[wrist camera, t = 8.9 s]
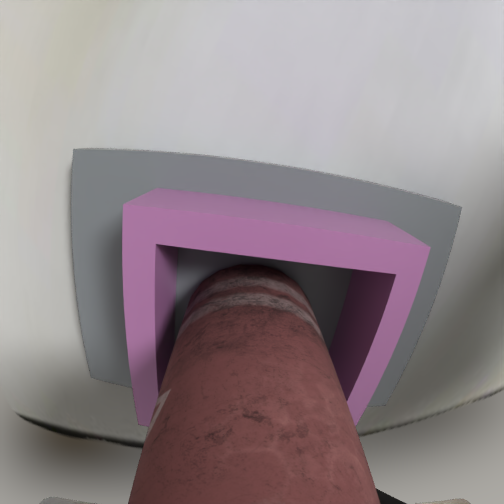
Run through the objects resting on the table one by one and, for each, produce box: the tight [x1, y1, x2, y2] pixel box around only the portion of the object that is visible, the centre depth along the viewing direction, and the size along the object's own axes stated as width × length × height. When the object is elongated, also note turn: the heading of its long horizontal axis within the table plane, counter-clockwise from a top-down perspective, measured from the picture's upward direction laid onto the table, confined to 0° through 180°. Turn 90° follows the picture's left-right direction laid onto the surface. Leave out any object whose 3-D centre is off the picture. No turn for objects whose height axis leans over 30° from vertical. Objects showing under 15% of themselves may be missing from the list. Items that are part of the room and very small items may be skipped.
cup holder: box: [71, 148, 462, 427], centre depth 14 cm, size 20×14×6 cm
